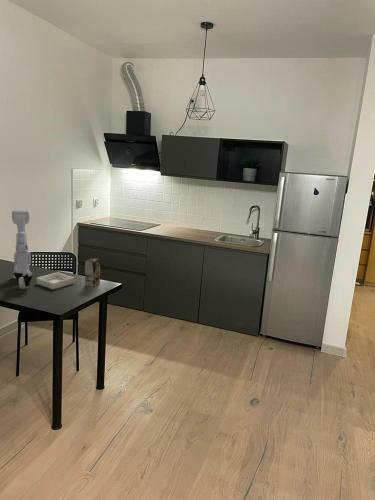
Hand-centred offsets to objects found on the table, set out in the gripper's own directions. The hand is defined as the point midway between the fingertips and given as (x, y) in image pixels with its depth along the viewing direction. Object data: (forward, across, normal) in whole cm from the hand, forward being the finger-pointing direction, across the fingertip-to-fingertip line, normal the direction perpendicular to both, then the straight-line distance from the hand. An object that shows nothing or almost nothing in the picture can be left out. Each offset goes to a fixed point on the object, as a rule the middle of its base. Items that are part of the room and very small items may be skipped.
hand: (23, 284), depth 220 cm
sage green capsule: (+2, 0, 0) cm, 2 cm away
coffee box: (+2, +25, +32) cm, 41 cm away
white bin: (+2, +8, +17) cm, 19 cm away
